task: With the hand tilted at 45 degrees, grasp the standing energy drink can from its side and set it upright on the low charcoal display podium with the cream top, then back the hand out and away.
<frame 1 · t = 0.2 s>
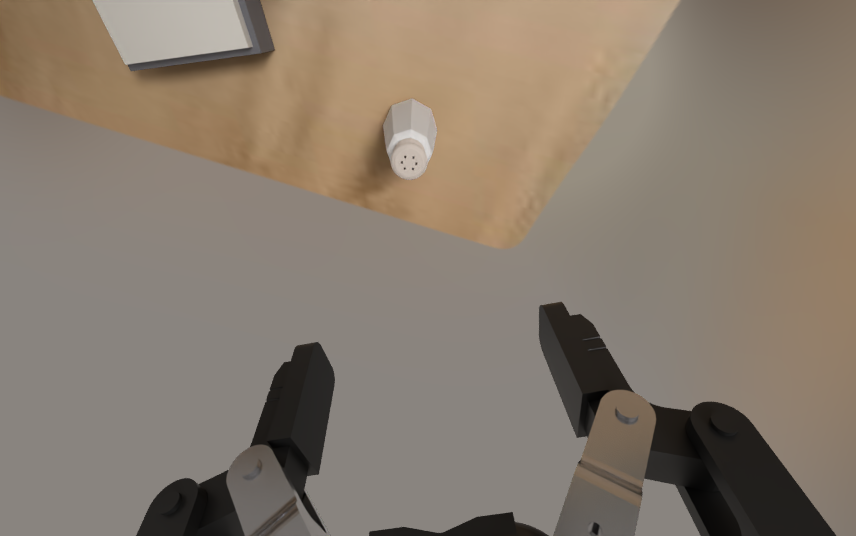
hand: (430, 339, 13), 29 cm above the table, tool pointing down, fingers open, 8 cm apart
pepper shaker: (410, 126, 37), on the table
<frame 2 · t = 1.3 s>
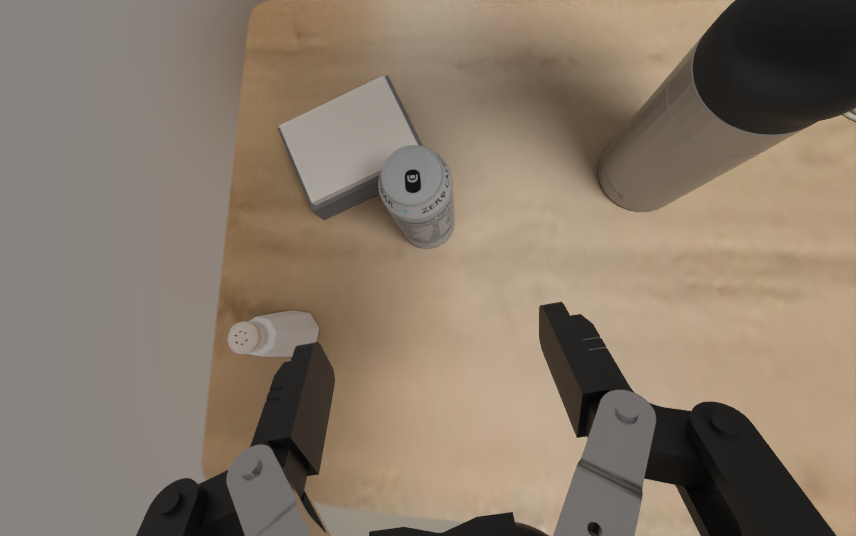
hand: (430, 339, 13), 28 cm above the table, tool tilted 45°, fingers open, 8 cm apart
podium: (359, 155, 45), on the table
pepper shaker: (298, 333, 43), on the table
energy drink can: (428, 225, 43), on the table
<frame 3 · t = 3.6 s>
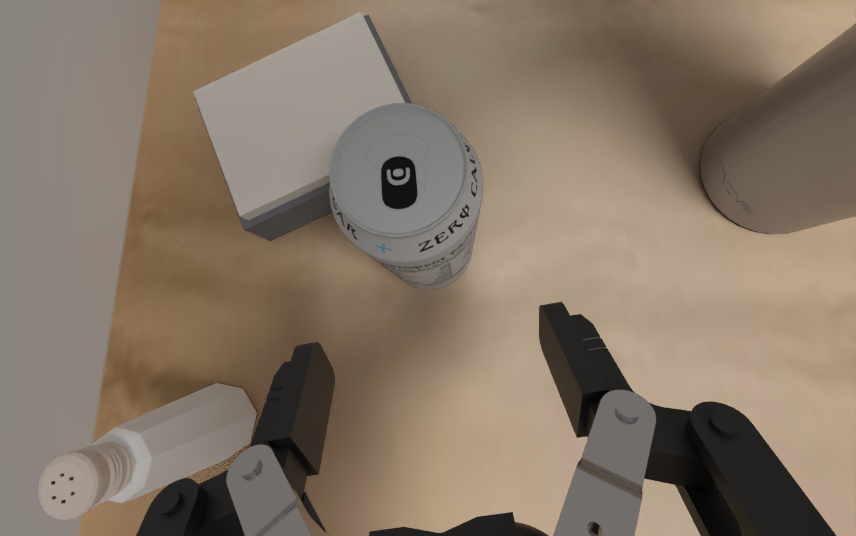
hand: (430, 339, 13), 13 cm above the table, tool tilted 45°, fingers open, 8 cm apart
podium: (325, 142, 29), on the table
pepper shaker: (224, 419, 27), on the table
energy drink can: (431, 250, 28), on the table
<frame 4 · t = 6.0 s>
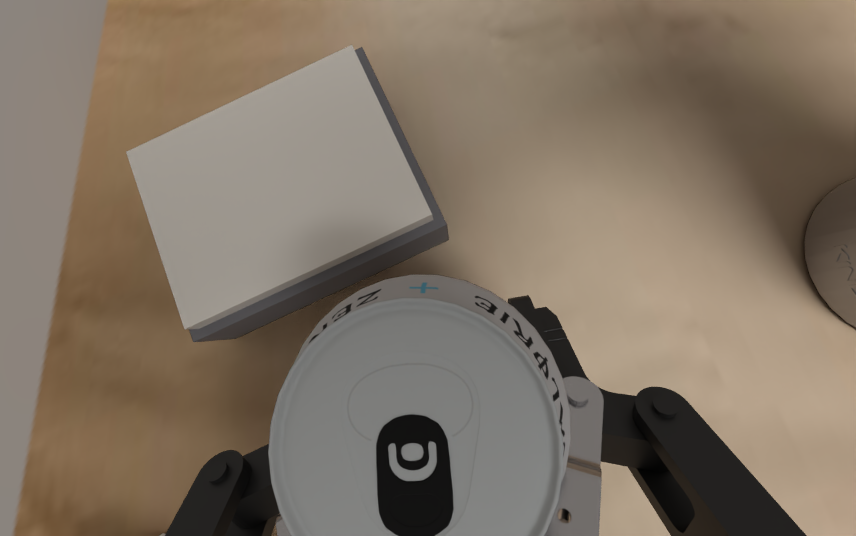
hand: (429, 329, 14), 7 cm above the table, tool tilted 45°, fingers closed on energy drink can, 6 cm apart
podium: (308, 208, 23), on the table
energy drink can: (445, 355, 21), on the table, touching gripper
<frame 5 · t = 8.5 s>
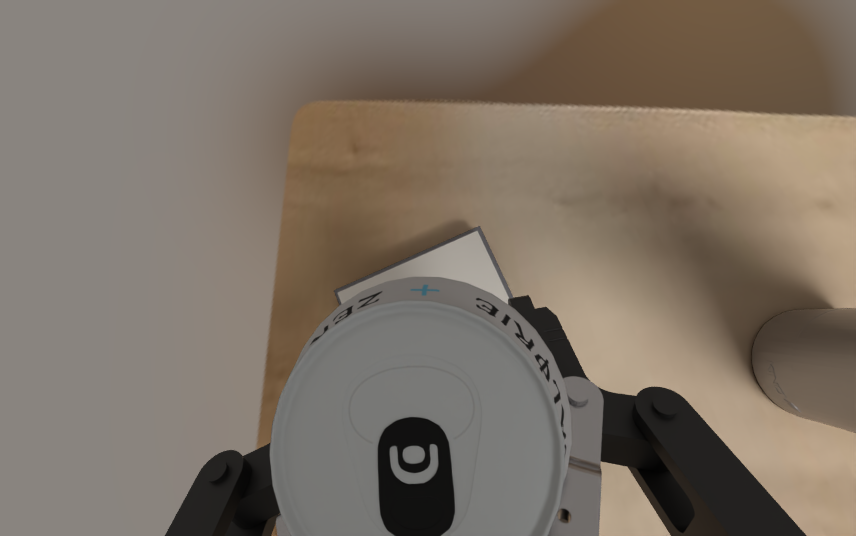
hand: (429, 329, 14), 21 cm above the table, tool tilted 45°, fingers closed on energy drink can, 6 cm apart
podium: (434, 316, 35), on the table
energy drink can: (445, 356, 21), point 14 cm above the table, touching gripper
when the fingers open (13 cm above the table, at t = 11.2 s): energy drink can drops 1 cm, resting on podium.
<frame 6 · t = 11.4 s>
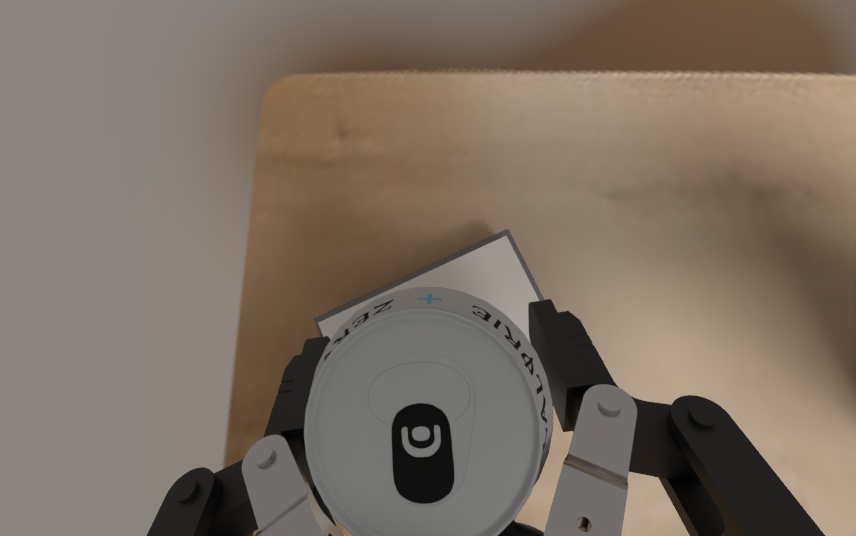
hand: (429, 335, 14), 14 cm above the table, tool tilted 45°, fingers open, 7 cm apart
podium: (447, 348, 27), on the table
energy drink can: (446, 357, 22), point 4 cm above the table, touching podium
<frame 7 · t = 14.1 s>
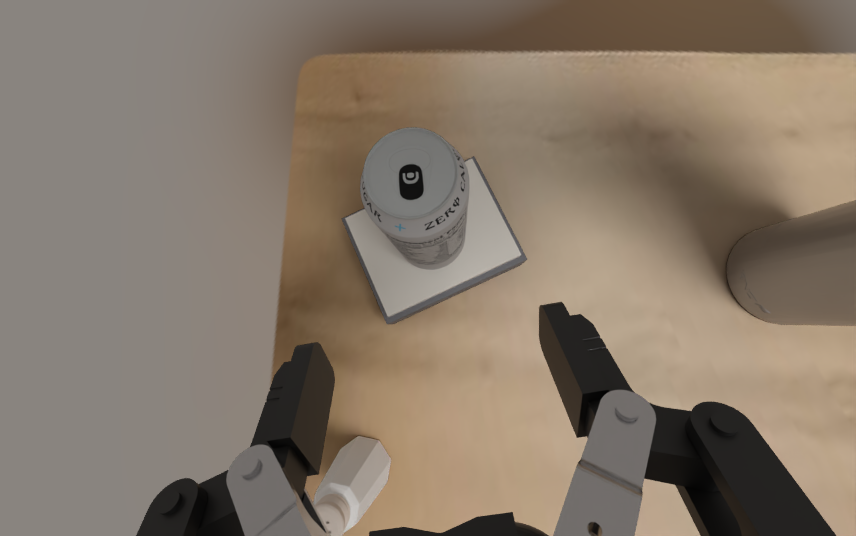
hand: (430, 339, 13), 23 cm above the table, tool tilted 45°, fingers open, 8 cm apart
podium: (434, 245, 38), on the table
pepper shaker: (364, 463, 35), on the table
energy drink can: (431, 238, 33), point 4 cm above the table, touching podium
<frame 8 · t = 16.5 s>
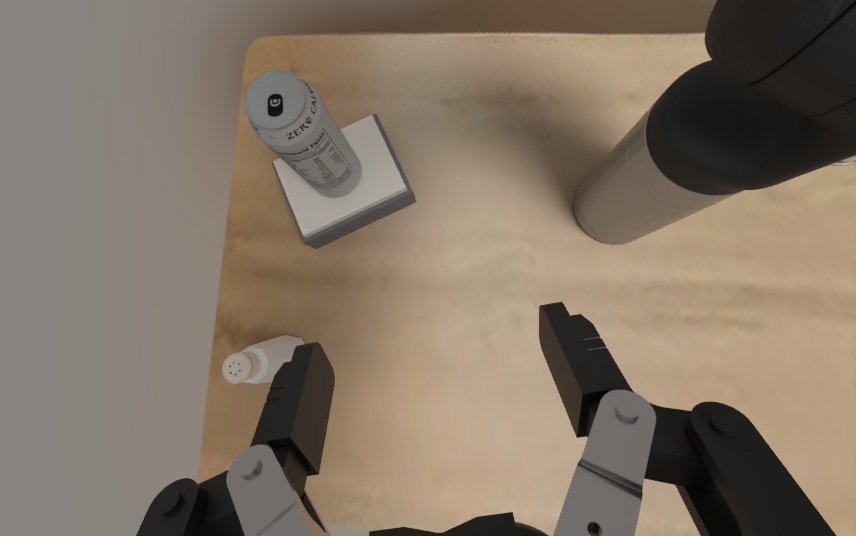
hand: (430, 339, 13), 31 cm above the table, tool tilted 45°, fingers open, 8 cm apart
podium: (349, 187, 47), on the table
pepper shaker: (290, 356, 45), on the table
energy drink can: (339, 176, 43), point 4 cm above the table, touching podium
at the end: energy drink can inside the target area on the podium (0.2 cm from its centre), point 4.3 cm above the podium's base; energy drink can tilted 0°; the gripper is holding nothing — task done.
